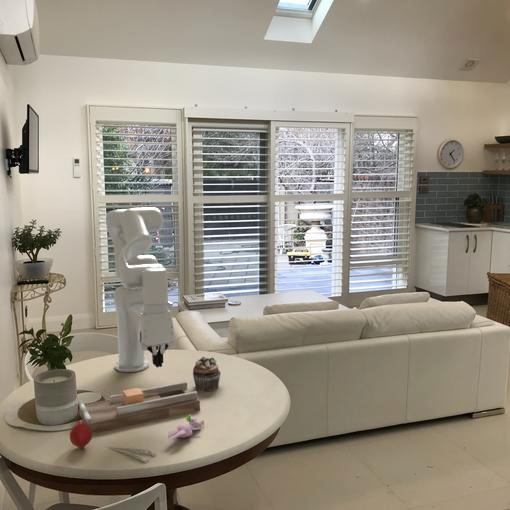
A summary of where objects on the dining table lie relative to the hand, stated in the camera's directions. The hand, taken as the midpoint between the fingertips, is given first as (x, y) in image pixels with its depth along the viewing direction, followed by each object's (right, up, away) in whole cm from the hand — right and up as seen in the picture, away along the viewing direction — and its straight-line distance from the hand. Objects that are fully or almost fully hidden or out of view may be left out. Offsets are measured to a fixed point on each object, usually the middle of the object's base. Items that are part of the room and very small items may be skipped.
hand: (158, 365), depth 167 cm
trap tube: (-6, -14, 0) cm, 15 cm away
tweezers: (-5, -19, -23) cm, 30 cm away
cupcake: (+13, -11, +20) cm, 26 cm away
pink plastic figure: (+11, -17, -15) cm, 25 cm away
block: (-7, -12, -2) cm, 14 cm away
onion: (-17, -18, -21) cm, 33 cm away
